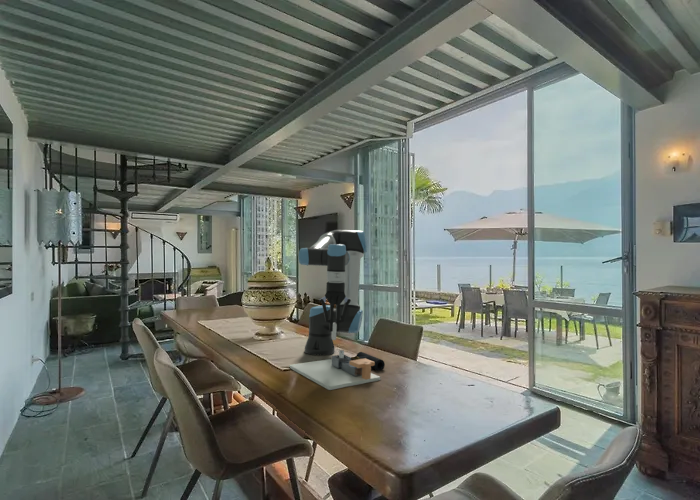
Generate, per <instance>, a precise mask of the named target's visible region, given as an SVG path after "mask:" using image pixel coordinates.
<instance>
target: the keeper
mask: <svg viewBox="0 0 700 500" xmlns="http://www.w3.org/2000/svg"><path fill="white" fill-rule="evenodd" d="M349 364H350V365H352V366H354V367H357V368H362V378H364V379H371V373H372V368H371V366H374V365H375V362H374V361H371V360H368V359H366V358H365V359H358V360H352V361H350V362H349Z"/></svg>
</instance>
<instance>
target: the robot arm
mask: <svg viewBox="0 0 700 500" xmlns="http://www.w3.org/2000/svg"><path fill="white" fill-rule="evenodd" d="M366 236H367V235H366V232H365V231H364V230H357V229H355V230H354V229H353V230H352V229H351V230H350V229H334V230H330V231H327V232H325V233H323V234H322V235H320V237H319V238H318V240H317V241H316V242H315V243H313V245H311V246H310V247H300V249H299V252H298V263H299V264H300V265H303V266H321V267H322V266H323V267H326V281H327V282H326V288H325V289H326V292H325V294H324V296H323V297H321V298H319V302H320V303H321V305H317V306H312V307H310V309H309V316H308V319H309V320H308V338H307V340H306V343H305V346H304V353H306V354H308V355H312V356H330V355H333V354H335V349H336V348H335V343H334V341H337V333H346V334H357V333H359V332H360V330H361V327H362V322H363V315H364V313H363V311H364V310H362V309H361V305H359V303H358V299H359V289H360V288H359V287H360V272H361V260H362V258H363V257H364V256H365V253H367V252H368V245H367V237H366ZM326 302H328V303H329V304H326ZM335 307H336V308H335Z"/></svg>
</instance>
